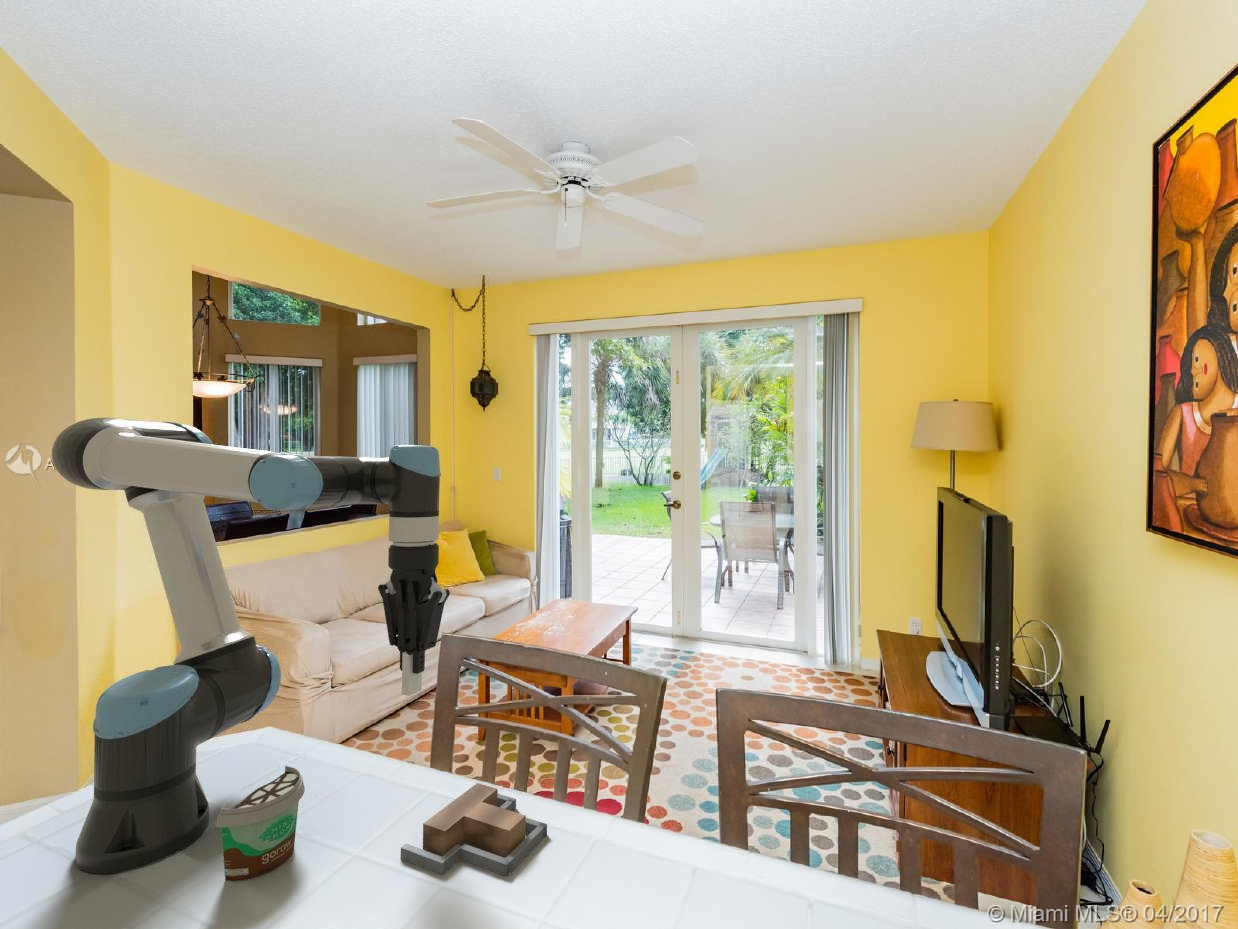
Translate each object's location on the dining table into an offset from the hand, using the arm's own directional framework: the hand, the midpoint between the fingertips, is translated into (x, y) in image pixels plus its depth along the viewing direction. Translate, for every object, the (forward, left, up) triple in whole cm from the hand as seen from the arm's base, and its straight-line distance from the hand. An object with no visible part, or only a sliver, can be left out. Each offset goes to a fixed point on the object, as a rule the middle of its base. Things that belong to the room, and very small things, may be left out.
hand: (411, 692), depth 92 cm
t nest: (+14, 0, -19) cm, 24 cm away
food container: (-9, -16, -19) cm, 27 cm away
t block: (+14, 0, -19) cm, 24 cm away
